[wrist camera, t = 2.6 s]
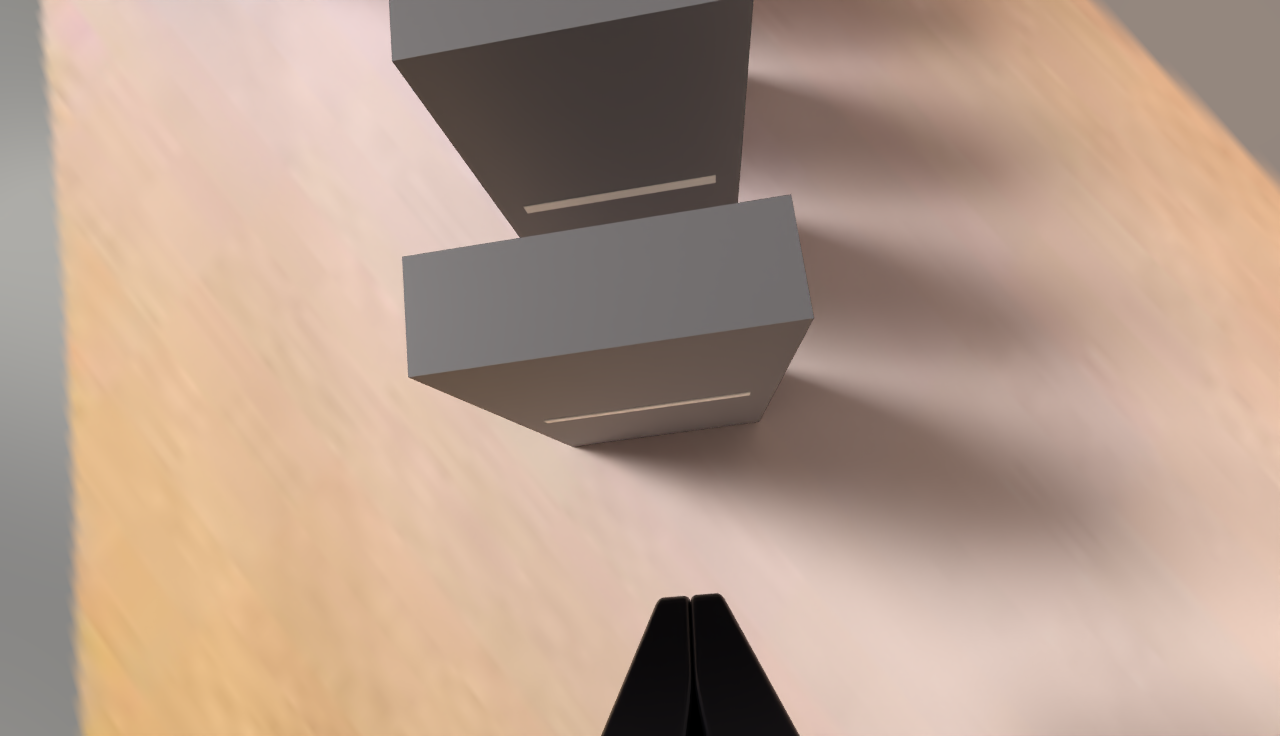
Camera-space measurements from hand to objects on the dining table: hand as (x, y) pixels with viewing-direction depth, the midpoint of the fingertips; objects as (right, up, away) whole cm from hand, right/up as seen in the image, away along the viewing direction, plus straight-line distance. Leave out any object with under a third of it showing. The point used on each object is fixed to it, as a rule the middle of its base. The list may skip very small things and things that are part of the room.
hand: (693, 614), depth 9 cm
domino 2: (0, +2, +9) cm, 9 cm away
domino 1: (-1, +7, +10) cm, 12 cm away
